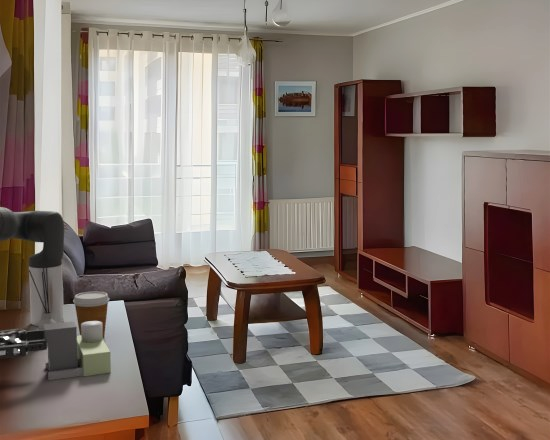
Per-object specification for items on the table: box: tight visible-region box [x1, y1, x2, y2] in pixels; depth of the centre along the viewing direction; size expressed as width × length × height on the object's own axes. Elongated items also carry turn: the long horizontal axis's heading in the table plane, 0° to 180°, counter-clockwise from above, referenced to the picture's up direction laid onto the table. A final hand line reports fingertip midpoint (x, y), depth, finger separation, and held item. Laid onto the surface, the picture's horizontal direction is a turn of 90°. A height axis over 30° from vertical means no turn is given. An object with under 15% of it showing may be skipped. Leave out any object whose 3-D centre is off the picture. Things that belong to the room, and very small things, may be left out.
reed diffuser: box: [28, 266, 56, 331], centre depth 169 cm, size 10×7×20 cm
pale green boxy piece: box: [45, 321, 112, 381], centre depth 149 cm, size 16×14×9 cm
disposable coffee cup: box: [72, 291, 110, 339], centre depth 170 cm, size 10×10×12 cm
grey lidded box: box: [43, 320, 79, 372], centre depth 144 cm, size 5×7×11 cm
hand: (45, 339), depth 143 cm, fingers open, 8 cm apart
